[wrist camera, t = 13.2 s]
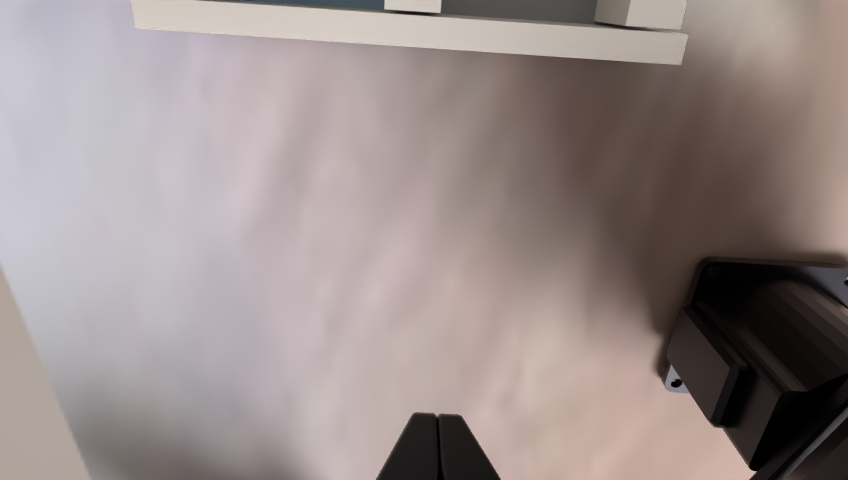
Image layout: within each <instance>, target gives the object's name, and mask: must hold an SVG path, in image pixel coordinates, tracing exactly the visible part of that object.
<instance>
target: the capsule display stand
mask: <svg viewBox="0 0 848 480" xmlns="http://www.w3.org/2000/svg"><path fill="white" fill-rule="evenodd" d="M687 2H688V0H131V5H132V12H133V18H134V25H135V28H140V29H154V30H169V31H184V32H199V33H214V34H228V35H243V36H258V37H273V38H288V39H302V40H317V41H332V42H347V43H362V44H376V45H391V46H406V47H421V48H435V49H450V50H465V51H480V52H495V53H509V54H524V55H539V56H554V57H569V58H583V59H598V60H613V61H628V62H643V63H657V64H672V65H681V63H682V59H683V55H684V51H685V47H686V43H687V39H688V35H689V34H684V33H677V32H670V31H664V30H657V29H650V28H664V29H679V30H681V26H682V22H683V18H684V14H685V10H686V6H687ZM647 27H650V28H647Z"/></svg>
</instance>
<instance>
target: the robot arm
mask: <svg viewBox="0 0 848 480" xmlns="http://www.w3.org/2000/svg"><path fill="white" fill-rule="evenodd" d="M712 267H715V269H714V271H713V272H711V273H707V272H708V270H709V269H710V268H712ZM847 277H848V265H841V264H824V263H808V262H791V261H775V260H758V259H742V258H725V257H707V258H705V259H702V260H701V261H700V262H699V263H698V265H697V267H696V270H695V273H694V276H693V279H692V282H691V286H690V289H689V292H688V295H687V298H686V301H685V305H684V306H683V307H682V308H681V309H680V312H679V315H678V318H677V321H676V324H675V328H674V331H673V334H672V337H671V340H670V344H669V347H668V350H667V353H666V357H667V361H666V364H665V368H664V371H663V374H662V378H661V380H662V382H663V384H664V386H665V387H666V389H667V390H668V391H671V392H679V393H690V394H691V395H692V397H693V398H694V400H695V402H696V403H697V405H698V406H699V408H700V409H701V411H702V412H703V414H704V415H705V417H706V418H707V420H708V421H709V422H710V423H711V425H712V426H713V427H717V428H722V429H723V430H724V431H725V433H726V434H727V436H728V437H729V439H730V440H731V442H732V443H733V445H734V446H735V448H736V449H737V451H738V452H739V454H740V455H741V456H742V458H743V459H744V461H745V462H746V464H747V465H748V467H749V468H750V469H751V470H753V471H757V472H756V473H755V474H754V475H753V476H752V477H751V478H750V479H749V480H848V279H847V280H846V281H845V279H846V278H847ZM674 379H677V380H676V381H674V382H672V380H674ZM376 480H501V479H500V477H499V476H498V474H497V472H496V471H495V469H494V467H493V466H492V464H491V463H490V461H489V459H488V458H487V456H486V455H485V453H484V451H483V450H482V448H481V446H480V445H479V443H478V442H477V440H476V438H475V437H474V435H473V434H472V432H471V430H470V429H469V427H468V425H467V424H466V422H465V421H464V419H463V418H462V416H460V415H458V414H439V415H438V416H436V415H435V414H434V413H420V412H415V413H413V415H412V416H411V417H410V419H409V421H408V423H407V425H406V426H405V428H404V430H403V432H402V434H401V435H400V437H399V439H398V441H397V443H396V444H395V446H394V448H393V450H392V452H391V453H390V455H389V457H388V459H387V461H386V462H385V464H384V466H383V468H382V469H381V471H380V473H379V475H378V477H377V478H376Z"/></svg>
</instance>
